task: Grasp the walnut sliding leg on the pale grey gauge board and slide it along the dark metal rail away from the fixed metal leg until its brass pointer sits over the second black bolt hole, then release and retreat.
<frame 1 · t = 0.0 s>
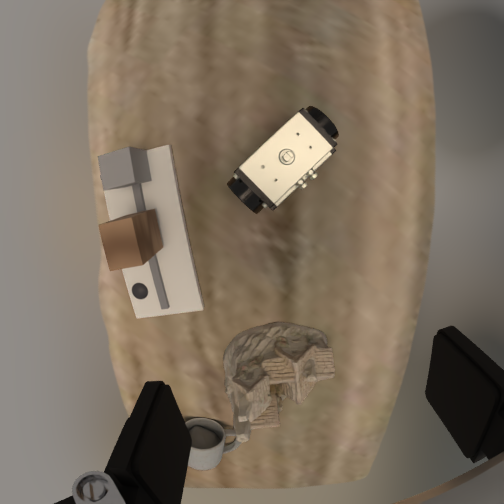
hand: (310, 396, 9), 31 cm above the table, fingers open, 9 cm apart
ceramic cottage: (273, 367, 45), on the table
gauge board: (151, 235, 40), on the table
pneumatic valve: (278, 164, 38), on the table
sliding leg: (122, 239, 34), point 6 cm above the table, slide at 0.0 cm
ceramic mug: (211, 430, 49), on the table
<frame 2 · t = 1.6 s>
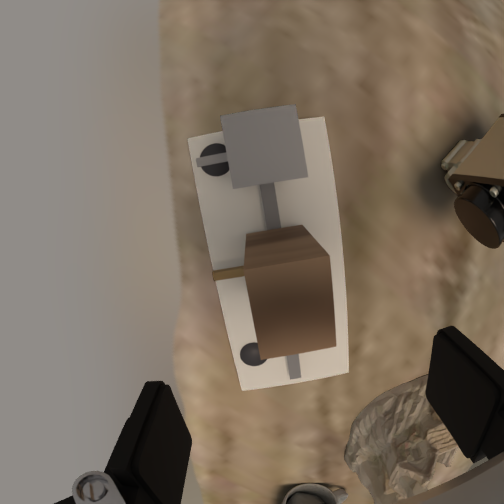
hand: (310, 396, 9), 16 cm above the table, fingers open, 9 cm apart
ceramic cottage: (404, 423, 31), on the table
gauge board: (279, 266, 25), on the table
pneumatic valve: (459, 169, 23), on the table
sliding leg: (262, 286, 19), point 6 cm above the table, slide at 0.0 cm
ceramic mug: (310, 492, 34), on the table
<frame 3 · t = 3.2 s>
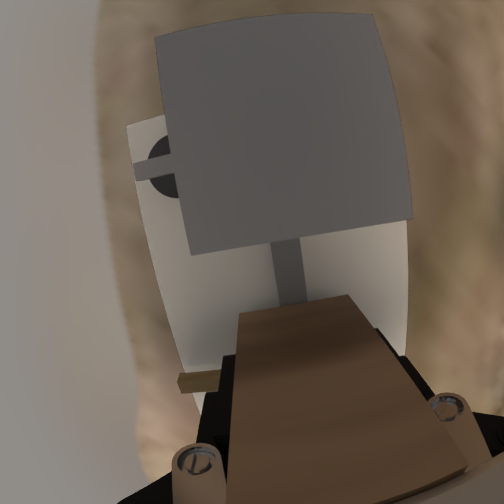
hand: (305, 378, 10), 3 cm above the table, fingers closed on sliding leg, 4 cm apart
gauge board: (296, 353, 14), on the table
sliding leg: (271, 441, 8), point 6 cm above the table, slide at 0.0 cm, touching gripper
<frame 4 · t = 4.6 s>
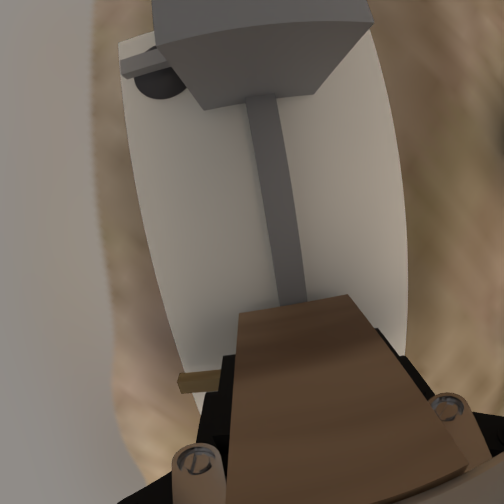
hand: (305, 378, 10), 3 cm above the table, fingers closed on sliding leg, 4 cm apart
gauge board: (286, 277, 13), on the table
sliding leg: (271, 441, 8), point 6 cm above the table, slide at 3.8 cm, touching gripper
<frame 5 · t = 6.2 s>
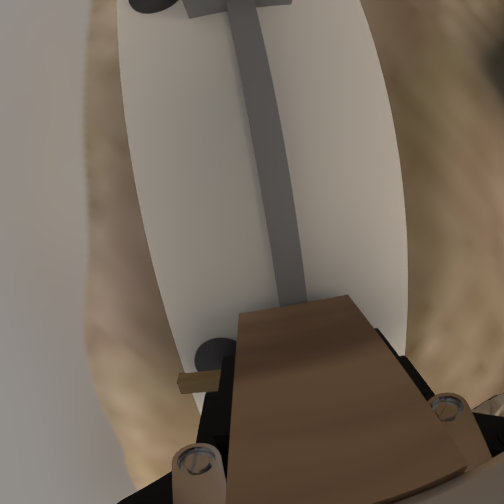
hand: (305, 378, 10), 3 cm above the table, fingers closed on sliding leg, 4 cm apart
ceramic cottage: (454, 461, 18), on the table
gauge board: (270, 177, 12), on the table
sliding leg: (271, 441, 8), point 6 cm above the table, slide at 7.9 cm, touching gripper
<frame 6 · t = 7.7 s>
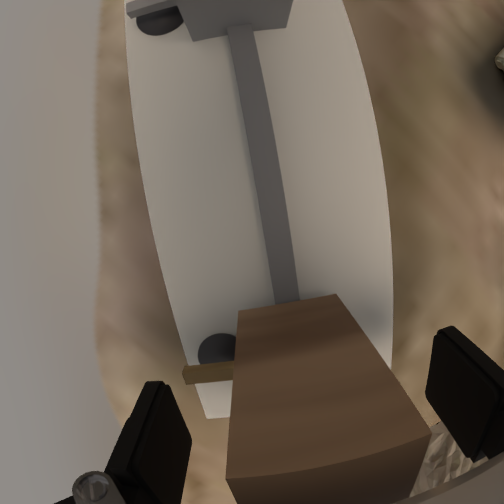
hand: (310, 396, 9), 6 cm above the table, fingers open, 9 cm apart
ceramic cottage: (446, 460, 19), on the table
gauge board: (267, 188, 13), on the table
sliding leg: (267, 423, 9), point 6 cm above the table, slide at 8.0 cm
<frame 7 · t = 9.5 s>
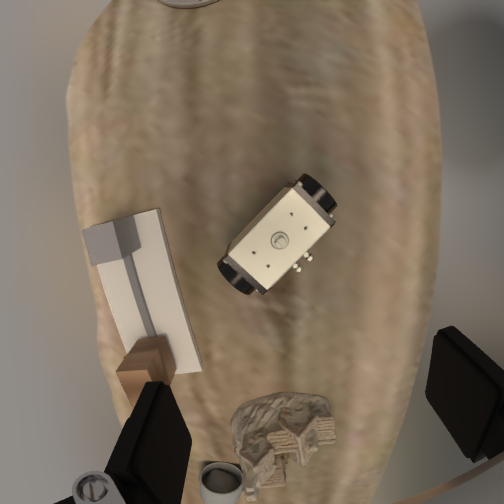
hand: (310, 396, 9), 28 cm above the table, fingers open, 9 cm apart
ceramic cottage: (279, 428, 44), on the table
gauge board: (145, 300, 38), on the table
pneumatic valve: (274, 226, 37), on the table
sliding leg: (138, 370, 34), point 6 cm above the table, slide at 8.0 cm
ceramic mug: (229, 472, 46), on the table
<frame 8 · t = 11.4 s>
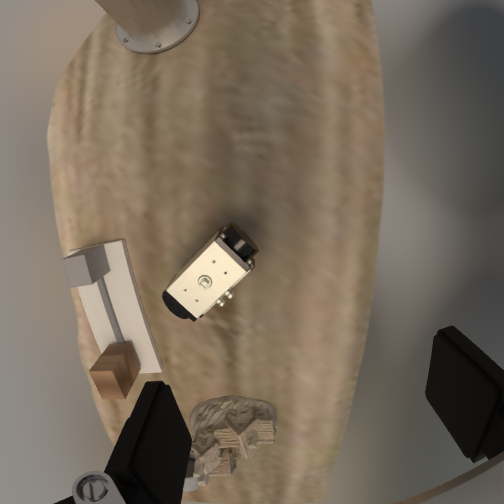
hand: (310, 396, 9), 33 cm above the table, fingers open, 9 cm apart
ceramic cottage: (231, 425, 51), on the table
gauge board: (115, 312, 45), on the table
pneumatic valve: (218, 257, 43), on the table
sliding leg: (108, 370, 40), point 6 cm above the table, slide at 8.0 cm
ceramic mug: (193, 459, 54), on the table
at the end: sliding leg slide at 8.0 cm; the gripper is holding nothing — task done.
